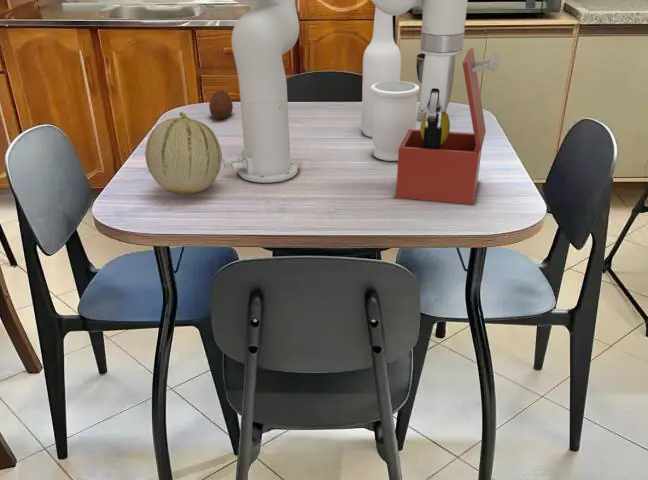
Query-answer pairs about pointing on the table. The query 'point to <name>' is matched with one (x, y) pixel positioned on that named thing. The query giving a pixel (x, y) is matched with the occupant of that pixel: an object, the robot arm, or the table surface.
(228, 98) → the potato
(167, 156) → the cantaloupe
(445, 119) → the lemon
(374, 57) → the alcohol
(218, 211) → the table surface
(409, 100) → the jar
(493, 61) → the bin lid
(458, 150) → the bin
